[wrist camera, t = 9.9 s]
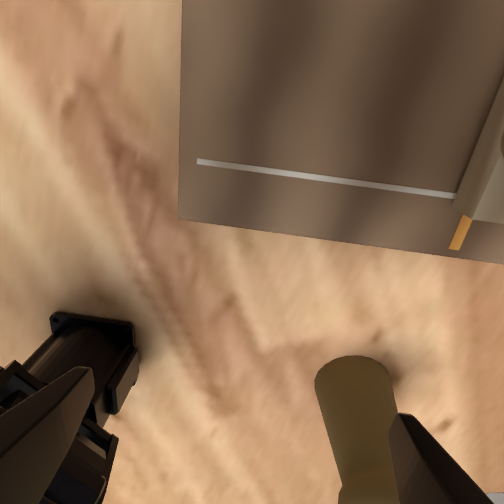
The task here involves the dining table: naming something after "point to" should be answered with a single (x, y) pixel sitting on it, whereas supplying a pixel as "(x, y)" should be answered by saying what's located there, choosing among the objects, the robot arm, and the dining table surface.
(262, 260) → the dining table surface
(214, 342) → the dining table surface
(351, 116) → the board
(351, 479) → the cork
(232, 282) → the dining table surface
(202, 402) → the dining table surface
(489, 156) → the lever handle
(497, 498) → the french press
